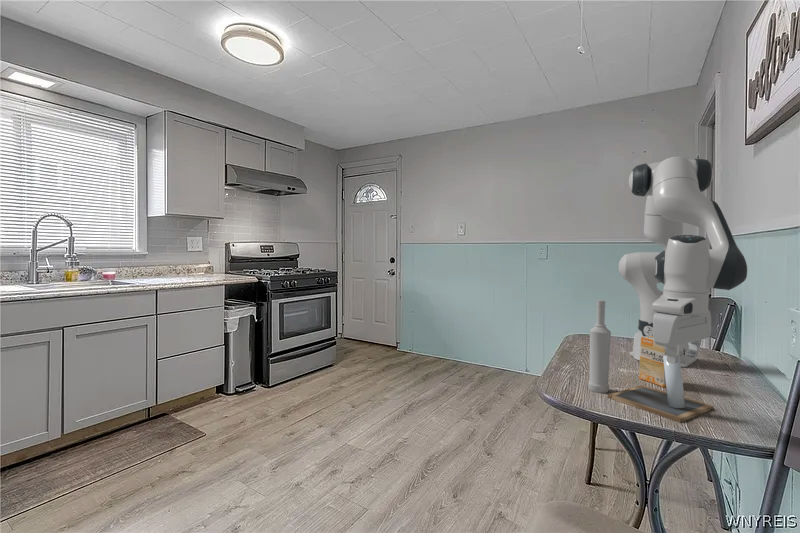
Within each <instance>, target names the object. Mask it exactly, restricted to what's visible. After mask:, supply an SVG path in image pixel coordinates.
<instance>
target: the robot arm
mask: <svg viewBox="0 0 800 533" xmlns="http://www.w3.org/2000/svg"><path fill="white" fill-rule="evenodd" d="M631 170H632V171H631V172H630V174H629V176H628V186H629V189H630V190H631V193H632V194H633V195H634V196H637V197H646V196H647V197H646V201H645V208H644V218H643V219H644V221H643V235H644V237H645V238H646V239H647V240H649V241H650V242H652V243H655V244H658V245H660V246H661V247H662V248H663V250H662V251H636V252H629V253H624V255H622V257H621V258H620V260H619V262H618V266H617V268H618V272H619V274H620V275H621V277H622V278H623V280H625V281H626V282H628V283H629V284H630V285H631V286H632V287H633V288H634V290H635V292H636V294H637V296H638V300H639V319H638V322H637V326H638V327H637V328H638V332H636V333H634V339H633V347H632V351H629V355H630V356H632V357H633V358H634V359H635V360H637V361H639V362H640V345H641V337H643V336H653V339H654V341H655V343H656V344H657V345H661V346H664V349H665V352H666V354H667V362H668V363H672V364H675V363H678V356H680V363H681V368H687V367H689V366H691V365H692V364H693V363H695V362H696V361H697V358H698V356H699V350H700V347H701V344H702V340H705V339H708V338H711V334H712V314H711V311H710V309H709V301H710V288H711V289H715V290H716V289H717V290H725V291H730V290H733V289H735V288H736V287H739V285H741V284H742V283H744V282H745V281H746V279H747V276H748V264H747V261H746V257H745V256H744V254H743V253H742V251H741V250H740V249H739V246H738V245H737V243H736V241H735V238H734V236H733V233H732V231H731V230H730V227H729V224H728V222H727V219H726V218H725V215H724V213H723V211H722V210H721V208H720V206H719V204H718V202H716V201H715V200H713V199H710V198H708V197H707V196H706V195H705V194H704V193H703V192H704V191H706V190H707V189H708V188H709V187H710V185H711V183H712V181H713V179H714V170H713V166H712V163H711V161H709V160H708V159H704V158H693V159H689V158H686V157H683V156H672V157H667V158H666V159H664V160H662V161H656V162H652V163H651V162H650V163H647V162H646V163H642V164H638V165H635V167H634V168H633V169H631ZM684 224H688V225H690V226H691V225H692V226H695V227H698V228H700V229H701V230H703V231H704V232H705V233H706V236H707V238H708V239H707V238H706V237H704V236H701V235H693V234H684V233H683V232H684V230H683V229H684V228H683V225H684ZM709 244H710V246H711V249H710V247H709ZM660 283H661V284H663V285H664V286H663V287H662V288H663V289H662V290H660V289H659V288H658V284H660ZM676 350H677V354H676Z"/></svg>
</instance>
